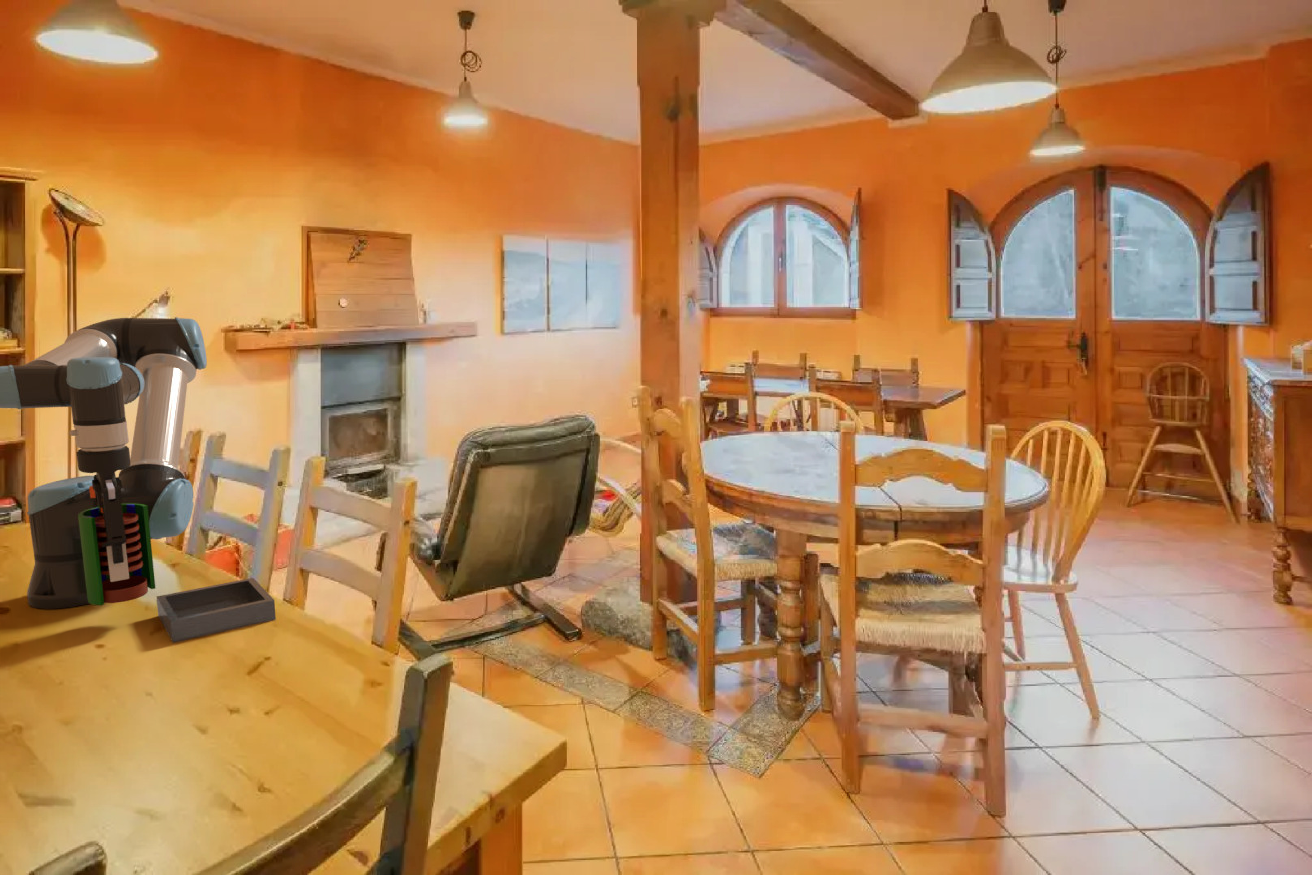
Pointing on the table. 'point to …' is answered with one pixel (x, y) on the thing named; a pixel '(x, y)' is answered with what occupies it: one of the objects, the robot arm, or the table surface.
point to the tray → (214, 609)
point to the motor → (97, 559)
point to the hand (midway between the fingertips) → (117, 573)
